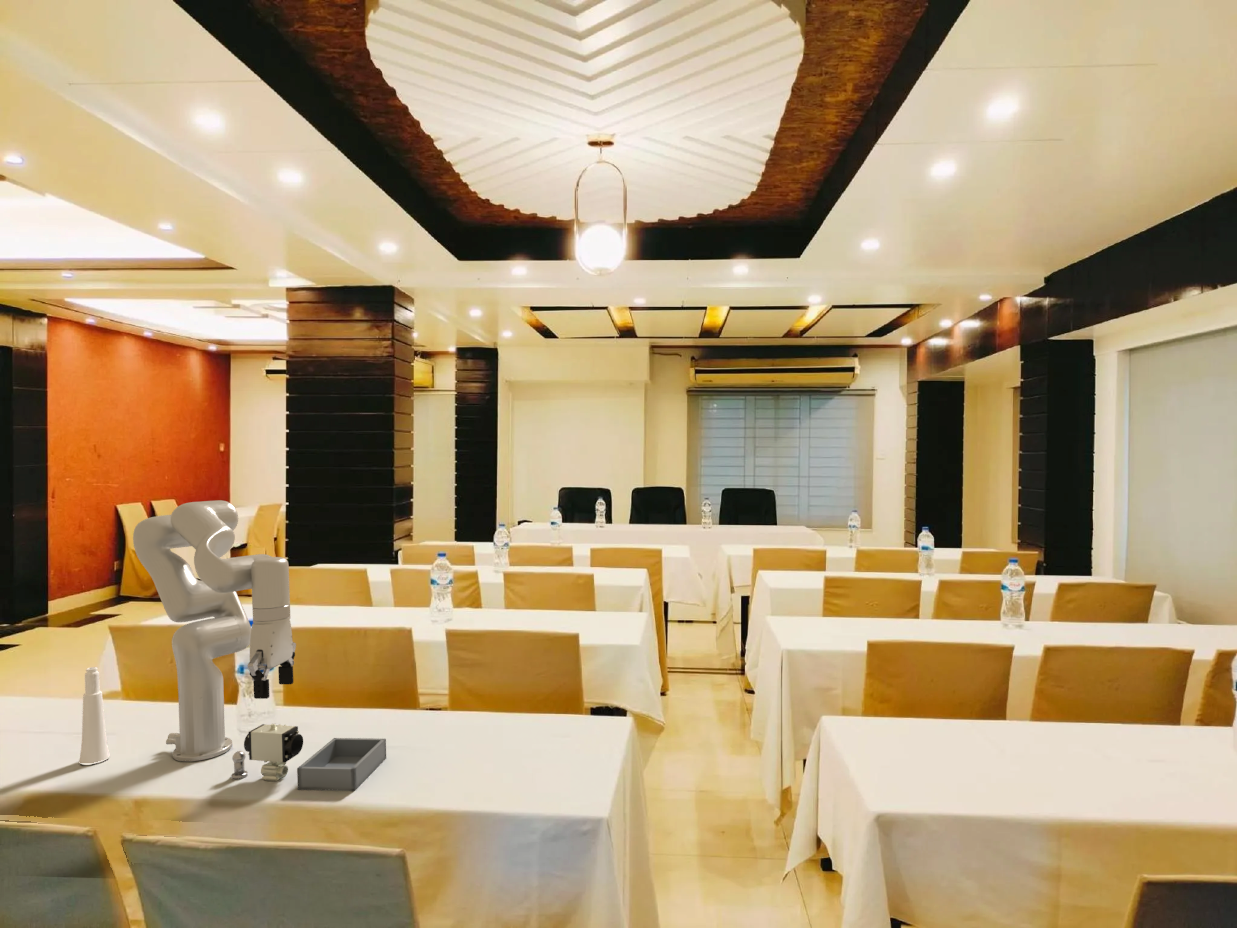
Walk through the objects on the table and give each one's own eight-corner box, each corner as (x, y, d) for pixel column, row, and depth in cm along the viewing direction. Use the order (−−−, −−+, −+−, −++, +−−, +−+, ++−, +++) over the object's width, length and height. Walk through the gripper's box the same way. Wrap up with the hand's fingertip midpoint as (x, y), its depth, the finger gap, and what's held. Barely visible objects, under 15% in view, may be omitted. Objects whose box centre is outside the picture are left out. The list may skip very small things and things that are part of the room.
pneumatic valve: (291, 784, 159) (290, 729, 159) (244, 780, 161) (242, 726, 161) (307, 773, 164) (305, 720, 164) (261, 769, 167) (259, 717, 166)
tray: (297, 789, 156) (297, 768, 156) (334, 757, 173) (334, 737, 173) (354, 790, 155) (354, 769, 155) (386, 758, 172) (385, 738, 172)
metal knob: (228, 779, 162) (227, 754, 162) (237, 773, 165) (236, 748, 165) (242, 779, 162) (241, 754, 162) (250, 773, 165) (249, 748, 165)
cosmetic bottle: (109, 761, 173) (106, 669, 172) (77, 768, 170) (74, 673, 169) (111, 753, 178) (108, 663, 178) (80, 758, 175) (77, 667, 175)
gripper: (276, 605, 171) (279, 679, 171) (231, 622, 154) (234, 704, 154) (307, 605, 170) (310, 678, 171) (265, 622, 153) (268, 704, 153)
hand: (274, 690), depth 162 cm, fingers open, 9 cm apart
